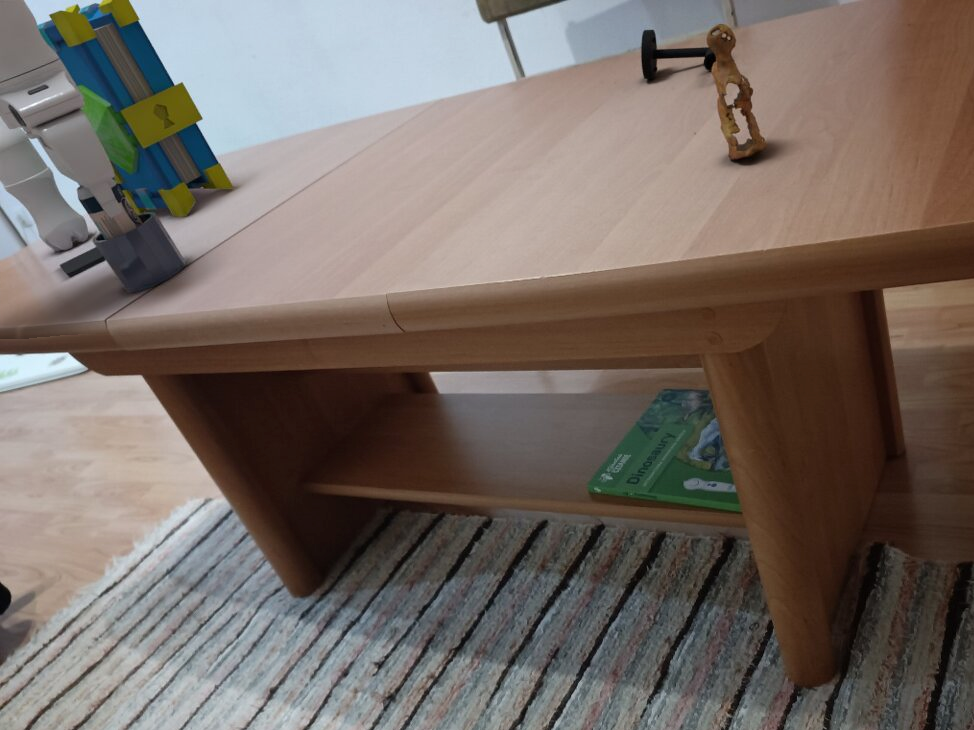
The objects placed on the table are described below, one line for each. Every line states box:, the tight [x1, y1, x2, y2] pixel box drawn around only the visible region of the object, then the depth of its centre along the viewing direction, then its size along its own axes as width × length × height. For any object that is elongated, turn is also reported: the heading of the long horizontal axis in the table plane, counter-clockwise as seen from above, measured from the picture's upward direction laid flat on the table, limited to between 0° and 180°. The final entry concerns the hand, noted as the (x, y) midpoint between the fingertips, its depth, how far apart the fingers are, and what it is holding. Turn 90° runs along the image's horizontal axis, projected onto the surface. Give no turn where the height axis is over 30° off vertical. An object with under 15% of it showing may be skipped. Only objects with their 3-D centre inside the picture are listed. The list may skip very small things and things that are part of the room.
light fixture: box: [640, 29, 716, 80], centre depth 111 cm, size 6×11×13 cm
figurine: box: [706, 23, 768, 161], centre depth 80 cm, size 5×6×12 cm
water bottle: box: [0, 117, 89, 252], centre depth 135 cm, size 7×7×25 cm
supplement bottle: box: [76, 179, 142, 240], centre depth 108 cm, size 5×5×12 cm
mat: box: [59, 246, 105, 278], centre depth 129 cm, size 8×8×1 cm
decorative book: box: [37, 0, 235, 218], centre depth 134 cm, size 14×23×30 cm, turn 53°
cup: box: [91, 211, 187, 293], centre depth 110 cm, size 8×8×7 cm
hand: (111, 211), depth 107 cm, fingers closed on supplement bottle, 5 cm apart
